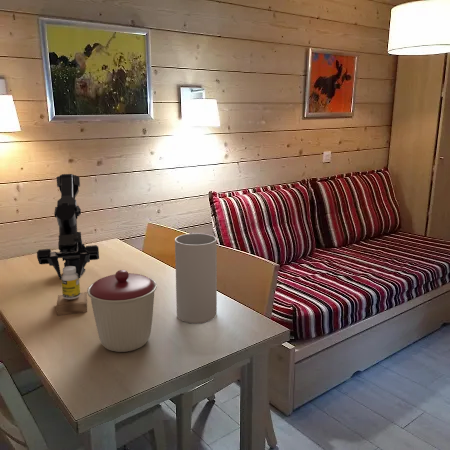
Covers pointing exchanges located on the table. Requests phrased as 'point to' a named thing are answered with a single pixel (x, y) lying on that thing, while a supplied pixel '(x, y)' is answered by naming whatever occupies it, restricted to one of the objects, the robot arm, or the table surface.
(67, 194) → the robot arm
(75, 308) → the square wooden block
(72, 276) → the supplement bottle
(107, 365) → the table surface
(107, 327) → the canister
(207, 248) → the cylinder vase
